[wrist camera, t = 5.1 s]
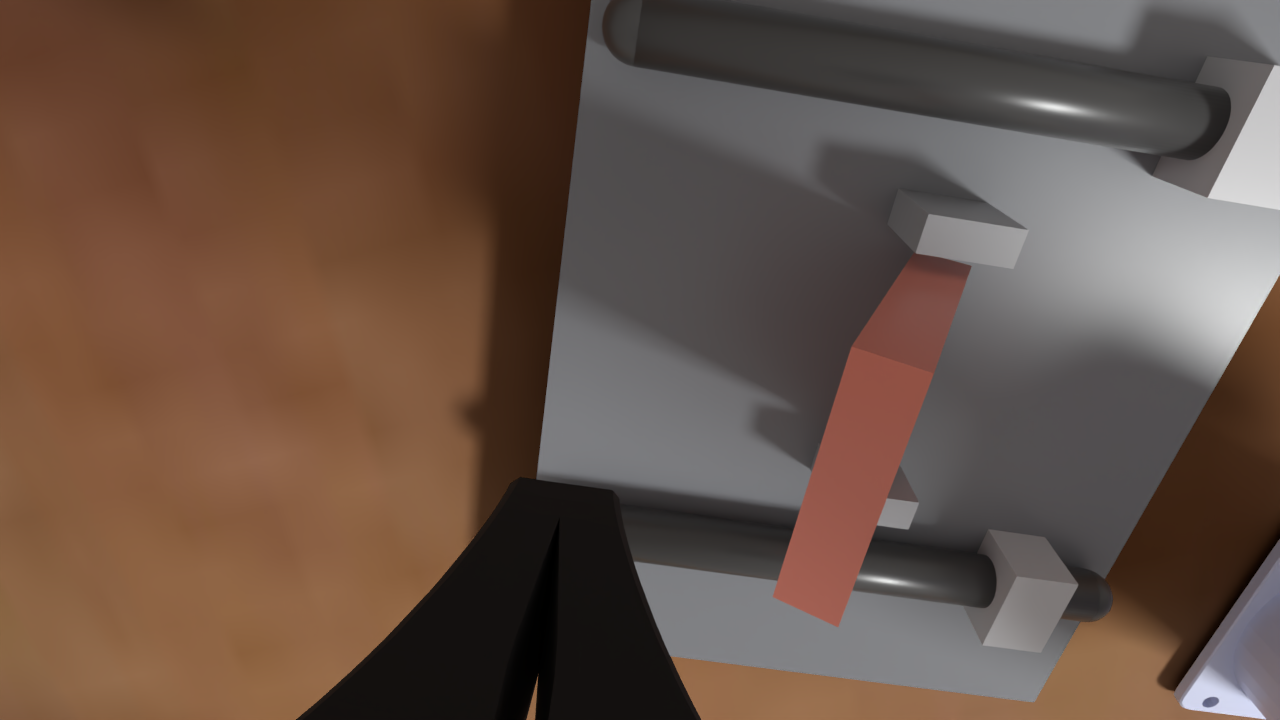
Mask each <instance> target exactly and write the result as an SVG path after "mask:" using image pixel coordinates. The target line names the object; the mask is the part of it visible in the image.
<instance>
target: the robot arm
mask: <svg viewBox="0 0 1280 720" xmlns="http://www.w3.org/2000/svg"><path fill="white" fill-rule="evenodd" d="M537 677H538V687H537V701H536V715H535V720H701V718H700V717H699V715H698V713H697V711H696V709H695V707H694V705H693V703H692V701H691V699H690V697H689V695H688V693H687V691H686V689H685V687H684V685H683V683H682V681H681V679H680V677H679V674H678V672H677V670H676V668H675V666H674V663H673V661H672V659H671V657H670V655H669V652H668V650H667V648H666V646H665V644H664V641H663V639H662V636H661V634H660V632H659V629H658V627H657V624H656V622H655V619H654V617H653V614H652V611H651V609H650V606H649V604H648V601H647V598H646V596H645V593H644V590H643V588H642V585H641V582H640V579H639V576H638V573H637V570H636V567H635V564H634V561H633V558H632V554H631V551H630V547H629V544H628V540H627V537H626V533H625V529H624V524H623V520H622V514H621V508H620V499H619V497H618V496H617V495H616V494H615V492H614V491H613V490H609V489H601V488H594V487H587V486H580V485H572V484H565V483H558V482H551V481H544V480H536V479H529V478H522V477H520V478H518V479H517V480H515V481H513V482H512V483H510V485H509V487H508V489H507V491H506V493H505V494H504V496H503V498H502V499H501V501H500V502H499V504H498V505H497V507H496V508H495V510H494V511H493V513H492V514H491V516H490V517H489V518H488V520H487V521H486V523H485V524H484V525H483V527H482V528H481V529H480V531H479V532H478V533H477V535H476V536H475V537H474V539H473V540H472V541H471V543H470V544H469V545H468V546H467V548H466V549H465V550H464V551H463V552H462V554H461V555H460V556H459V557H458V558H457V560H456V561H455V562H454V563H453V564H452V566H451V567H450V568H449V569H448V571H447V572H446V573H445V574H444V575H443V577H442V578H441V579H440V580H439V581H438V582H437V584H436V585H435V586H434V587H433V588H432V589H431V590H430V592H429V593H428V594H427V595H426V596H425V597H424V598H423V599H422V600H421V601H420V602H419V603H418V604H417V605H416V606H415V608H414V609H413V610H412V611H411V612H410V613H409V614H408V615H407V616H406V617H405V618H404V619H403V620H402V621H401V622H400V624H399V625H398V626H397V627H396V628H395V629H394V630H393V631H392V632H391V633H390V634H389V635H388V636H387V637H386V638H385V639H384V640H383V641H382V642H381V643H380V644H379V645H378V646H377V647H376V648H375V649H374V650H373V651H372V652H371V653H370V654H369V655H368V656H367V657H366V658H365V659H364V660H363V661H362V662H361V663H359V664H358V665H357V666H356V667H355V668H354V669H353V670H352V671H351V672H350V673H349V674H348V675H347V676H345V677H344V678H343V679H342V680H341V681H340V682H339V683H338V684H337V685H336V686H334V687H333V688H332V689H331V690H330V691H329V692H328V693H327V694H326V695H324V696H323V697H322V698H321V699H320V700H319V701H318V702H317V703H315V704H314V705H313V706H312V707H311V708H309V709H308V710H307V711H306V712H305V713H303V714H302V715H301V716H300V717H299V718H297V719H296V720H526V719H527V715H528V711H529V707H530V704H531V700H532V696H533V692H534V688H535V684H536V681H537ZM1174 696H1175V698H1176V700H1177V701H1178V702H1179V704H1180V705H1181V706H1182V707H1183V708H1186V709H1190V710H1198V711H1206V712H1214V713H1221V714H1229V715H1237V716H1245V717H1253V718H1260V719H1267V720H1280V539H1279V540H1278V542H1277V543H1276V545H1275V546H1274V548H1273V549H1272V551H1271V552H1270V553H1269V555H1268V556H1267V558H1266V559H1265V561H1264V562H1263V564H1262V565H1261V566H1260V568H1259V569H1258V571H1257V572H1256V574H1255V575H1254V577H1253V578H1252V580H1251V581H1250V582H1249V584H1248V585H1247V587H1246V588H1245V590H1244V591H1243V593H1242V594H1241V595H1240V597H1239V598H1238V600H1237V601H1236V603H1235V604H1234V606H1233V607H1232V608H1231V610H1230V611H1229V613H1228V614H1227V616H1226V617H1225V619H1224V620H1223V622H1222V623H1221V624H1220V626H1219V627H1218V629H1217V630H1216V632H1215V633H1214V635H1213V636H1212V637H1211V639H1210V640H1209V642H1208V643H1207V645H1206V646H1205V648H1204V649H1203V650H1202V652H1201V653H1200V655H1199V656H1198V658H1197V659H1196V661H1195V662H1194V663H1193V665H1192V666H1191V668H1190V669H1189V671H1188V672H1187V674H1186V675H1185V677H1184V678H1183V679H1182V681H1181V682H1180V684H1179V685H1178V687H1177V688H1176V690H1175V693H1174Z"/></svg>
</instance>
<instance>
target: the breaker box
mask: <svg viewBox="0 0 1280 720" xmlns="http://www.w3.org/2000/svg"><path fill="white" fill-rule="evenodd" d="M914 252H915V253H916V254H922V255H929V256H935V257H941V258H945V259H949V260H952V261H956V262H960V263H963V264H967V265H970V266H972V267H971V270H970V273H969V275H968V278H967V281H966V284H965V287H964V290H963V292H962V295H961V298H960V301H959V304H958V307H957V309H956V312H955V315H954V318H953V321H952V324H951V327H950V329H949V332H948V335H947V338H946V341H945V344H944V346H943V349H942V352H941V355H940V358H939V361H938V363H937V366H936V369H935V372H934V375H933V377H932V380H931V383H930V385H929V388H928V391H927V393H926V396H925V399H924V401H923V404H922V407H921V409H920V412H919V415H918V417H917V420H916V422H915V425H914V428H913V430H912V433H911V436H910V438H909V441H908V444H907V446H906V449H905V452H904V454H903V457H902V460H901V462H900V465H899V468H898V470H897V473H896V475H895V478H894V481H893V483H892V486H891V489H890V491H889V494H888V497H887V499H886V502H885V505H884V507H883V510H882V513H881V515H880V518H879V521H878V523H877V526H876V528H875V531H874V534H873V536H872V539H871V542H870V544H869V547H868V550H867V552H866V555H865V558H864V560H863V563H862V566H861V568H860V571H859V574H858V576H857V579H856V581H855V584H854V587H853V589H852V592H851V595H850V597H849V600H848V603H847V605H846V608H845V611H844V613H843V616H842V619H841V621H840V624H839V627H836V626H834V625H832V624H830V623H828V622H825V621H823V620H821V619H819V618H817V617H815V616H812V615H810V614H808V613H806V612H804V611H802V610H800V609H797V608H795V607H793V606H791V605H789V604H787V603H784V602H782V601H780V600H778V599H776V598H774V597H773V594H774V591H775V588H776V584H777V581H778V578H779V575H780V572H781V569H782V565H783V562H784V559H785V556H786V553H787V550H788V546H789V543H790V540H791V537H792V534H793V530H794V527H795V524H796V521H797V518H798V515H799V511H800V508H801V505H802V502H803V499H804V496H805V492H806V489H807V486H808V483H809V480H810V477H811V473H812V470H813V467H814V464H815V461H816V458H817V454H818V451H819V448H820V445H821V442H822V439H823V435H824V432H825V429H826V426H827V423H828V419H829V416H830V413H831V410H832V407H833V404H834V400H835V397H836V394H837V391H838V388H839V385H840V381H841V378H842V375H843V372H844V369H845V366H846V362H847V359H848V356H849V353H850V350H851V347H852V345H853V343H854V342H855V340H856V339H857V337H858V336H859V334H860V333H861V331H862V330H863V328H864V327H865V325H866V324H867V322H868V321H869V319H870V318H871V316H872V315H873V313H874V312H875V310H876V309H877V307H878V306H879V304H880V303H881V301H882V300H883V298H884V297H885V295H886V294H887V292H888V291H889V289H890V288H891V286H892V285H893V283H894V282H895V280H896V279H897V277H898V276H899V274H900V273H901V271H902V270H903V268H904V267H905V265H906V264H907V262H908V261H909V259H910V258H911V256H912V255H913V253H914ZM1279 275H1280V0H591V7H590V16H589V25H588V33H587V42H586V51H585V60H584V68H583V77H582V86H581V95H580V103H579V112H578V121H577V129H576V138H575V147H574V156H573V164H572V173H571V182H570V190H569V199H568V208H567V217H566V225H565V234H564V243H563V252H562V260H561V269H560V278H559V286H558V295H557V304H556V313H555V321H554V330H553V339H552V347H551V356H550V365H549V374H548V382H547V391H546V400H545V409H544V417H543V426H542V435H541V443H540V452H539V461H538V470H537V478H536V480H544V481H551V482H558V483H565V484H572V485H580V486H587V487H594V488H601V489H609V490H613V491H614V492H615V494H616V495H617V496H618V497H619V499H620V508H621V514H622V520H623V524H624V529H625V533H626V537H627V540H628V544H629V547H630V551H631V554H632V558H633V561H634V564H635V567H636V570H637V573H638V576H639V579H640V582H641V585H642V588H643V590H644V593H645V596H646V598H647V601H648V604H649V606H650V609H651V611H652V614H653V617H654V619H655V622H656V624H657V627H658V629H659V632H660V634H661V636H662V639H663V641H664V644H665V646H666V648H667V650H668V652H669V655H670V656H674V657H682V658H690V659H698V660H706V661H713V662H721V663H729V664H737V665H745V666H753V667H760V668H768V669H776V670H784V671H792V672H800V673H808V674H815V675H823V676H831V677H839V678H847V679H855V680H863V681H870V682H878V683H886V684H894V685H902V686H910V687H917V688H925V689H933V690H941V691H949V692H957V693H965V694H972V695H980V696H988V697H996V698H1004V699H1012V700H1020V701H1027V702H1035V700H1036V698H1037V696H1038V695H1039V693H1040V691H1041V689H1042V688H1043V686H1044V684H1045V682H1046V681H1047V679H1048V677H1049V675H1050V674H1051V672H1052V670H1053V668H1054V667H1055V665H1056V663H1057V661H1058V660H1059V658H1060V656H1061V655H1062V653H1063V651H1064V649H1065V648H1066V646H1067V644H1068V642H1069V641H1070V639H1071V637H1072V635H1073V634H1074V632H1075V630H1076V628H1077V627H1078V625H1079V623H1080V621H1081V622H1093V621H1097V620H1099V619H1101V618H1103V617H1104V616H1105V615H1106V614H1107V613H1108V612H1109V611H1110V609H1111V606H1112V602H1113V596H1112V591H1111V589H1110V586H1109V585H1108V583H1107V582H1106V581H1105V578H1106V576H1107V574H1108V573H1109V571H1110V569H1111V567H1112V566H1113V564H1114V562H1115V560H1116V559H1117V557H1118V555H1119V554H1120V552H1121V550H1122V548H1123V547H1124V545H1125V543H1126V541H1127V540H1128V538H1129V536H1130V534H1131V533H1132V531H1133V529H1134V527H1135V526H1136V524H1137V522H1138V520H1139V519H1140V517H1141V515H1142V513H1143V512H1144V510H1145V508H1146V507H1147V505H1148V503H1149V501H1150V500H1151V498H1152V496H1153V494H1154V493H1155V491H1156V489H1157V487H1158V486H1159V484H1160V482H1161V480H1162V479H1163V477H1164V475H1165V473H1166V472H1167V470H1168V468H1169V466H1170V465H1171V463H1172V461H1173V459H1174V458H1175V456H1176V454H1177V453H1178V451H1179V449H1180V447H1181V446H1182V444H1183V442H1184V440H1185V439H1186V437H1187V435H1188V433H1189V432H1190V430H1191V428H1192V426H1193V425H1194V423H1195V421H1196V419H1197V418H1198V416H1199V414H1200V412H1201V411H1202V409H1203V407H1204V405H1205V404H1206V402H1207V400H1208V399H1209V397H1210V395H1211V393H1212V392H1213V390H1214V388H1215V386H1216V385H1217V383H1218V381H1219V379H1220V378H1221V376H1222V374H1223V372H1224V371H1225V369H1226V367H1227V365H1228V364H1229V362H1230V360H1231V358H1232V357H1233V355H1234V353H1235V352H1236V350H1237V348H1238V346H1239V345H1240V343H1241V341H1242V339H1243V338H1244V336H1245V334H1246V332H1247V331H1248V329H1249V327H1250V325H1251V324H1252V322H1253V320H1254V318H1255V317H1256V315H1257V313H1258V311H1259V310H1260V308H1261V306H1262V304H1263V303H1264V301H1265V299H1266V298H1267V296H1268V294H1269V292H1270V291H1271V289H1272V287H1273V285H1274V284H1275V282H1276V280H1277V278H1278V277H1279Z"/></svg>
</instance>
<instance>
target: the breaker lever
mask: <svg viewBox="0 0 1280 720" xmlns="http://www.w3.org/2000/svg"><path fill="white" fill-rule="evenodd" d="M971 267H972V266H970V265H967V264H963V263H960V262H956V261H952V260H949V259H945V258H941V257H935V256H929V255H922V254H916V253H915V252H914V253H913V255H912V256H911V258H910V259H909V261H908V262H907V264H906V265H905V267H904V268H903V270H902V271H901V273H900V274H899V276H898V277H897V279H896V280H895V282H894V283H893V285H892V286H891V288H890V289H889V291H888V292H887V294H886V295H885V297H884V298H883V300H882V301H881V303H880V304H879V306H878V307H877V309H876V310H875V312H874V313H873V315H872V316H871V318H870V319H869V321H868V322H867V324H866V325H865V327H864V328H863V330H862V331H861V333H860V334H859V336H858V337H857V339H856V340H855V342H854V343H853V345H852V347H851V350H850V353H849V356H848V359H847V362H846V366H845V369H844V372H843V375H842V378H841V381H840V385H839V388H838V391H837V394H836V397H835V400H834V404H833V407H832V410H831V413H830V416H829V419H828V423H827V426H826V429H825V432H824V435H823V439H822V442H821V445H820V448H819V451H818V454H817V458H816V461H815V464H814V467H813V470H812V473H811V477H810V480H809V483H808V486H807V489H806V492H805V496H804V499H803V502H802V505H801V508H800V511H799V515H798V518H797V521H796V524H795V527H794V530H793V534H792V537H791V540H790V543H789V546H788V550H787V553H786V556H785V559H784V562H783V565H782V569H781V572H780V575H779V578H778V581H777V584H776V588H775V591H774V594H773V597H774V598H776V599H778V600H780V601H782V602H784V603H787V604H789V605H791V606H793V607H795V608H797V609H800V610H802V611H804V612H806V613H808V614H810V615H812V616H815V617H817V618H819V619H821V620H823V621H825V622H828V623H830V624H832V625H834V626H836V627H839V624H840V621H841V619H842V616H843V613H844V611H845V608H846V605H847V603H848V600H849V597H850V595H851V592H852V589H853V587H854V584H855V581H856V579H857V576H858V574H859V571H860V568H861V566H862V563H863V560H864V558H865V555H866V552H867V550H868V547H869V544H870V542H871V539H872V536H873V534H874V531H875V528H876V526H877V523H878V521H879V518H880V515H881V513H882V510H883V507H884V505H885V502H886V499H887V497H888V494H889V491H890V489H891V486H892V483H893V481H894V478H895V475H896V473H897V470H898V468H899V465H900V462H901V460H902V457H903V454H904V452H905V449H906V446H907V444H908V441H909V438H910V436H911V433H912V430H913V428H914V425H915V422H916V420H917V417H918V415H919V412H920V409H921V407H922V404H923V401H924V399H925V396H926V393H927V391H928V388H929V385H930V383H931V380H932V377H933V375H934V372H935V369H936V366H937V363H938V361H939V358H940V355H941V352H942V349H943V346H944V344H945V341H946V338H947V335H948V332H949V329H950V327H951V324H952V321H953V318H954V315H955V312H956V309H957V307H958V304H959V301H960V298H961V295H962V292H963V290H964V287H965V284H966V281H967V278H968V275H969V273H970V270H971Z"/></svg>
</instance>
